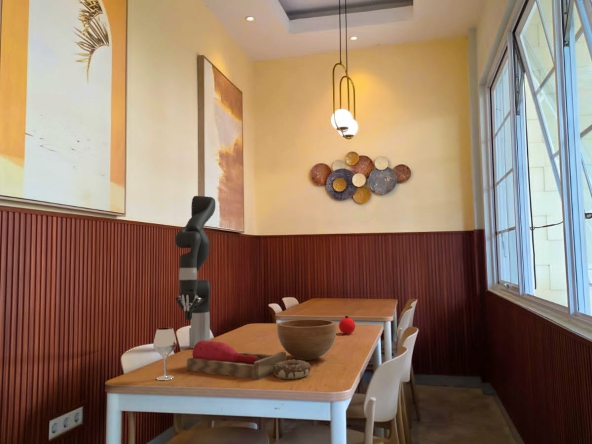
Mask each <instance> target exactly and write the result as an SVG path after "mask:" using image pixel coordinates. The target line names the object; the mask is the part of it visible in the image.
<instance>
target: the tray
mask: <svg viewBox="0 0 592 444" xmlns="http://www.w3.org/2000/svg"><path fill="white" fill-rule="evenodd" d="M237 352H238V353H239V354H242V355H246V356H247V355H252V356H256V357H257V358H258V361H255V362H254V365H252V364H246V363H244V362H239V363H233V362H224V361H215V360H206V359H197V358H193V357H188V358H186V371H187V370H191V371H190V372H195V371H199V372H198V373H202V372H207V373H206V374H210V373H214V374H213V375H218V374H222V375H221V376H226V375H229V376H228V377H234V376H235V377H236V378H243V379H250V380H258V381H259V380H261V379H264V378H266V377H269V376H271V375H274V374H273V366H274V365H275V364H276V363H278V362H280V361H285V360H287V351H280V352H277V353H276V354H265V353H255V352H245V351H243V352H242V351H237Z"/></svg>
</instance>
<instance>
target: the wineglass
mask: <svg viewBox="0 0 592 444" xmlns="http://www.w3.org/2000/svg"><path fill="white" fill-rule="evenodd" d="M175 333H176V332H175V330H174V327H170V326H169V327H159V328H157V329H156V331H155V335H154V339H153V348H154V350H155V351H156V353H158V354H159V355H160V356H162V358H163V375H160V376H157V377H156V379H157V380H156V379H155V380H156V381H159V380H165V381H171V380H173V379H174V378H175V376H173V375H167V359H168V356H170V355H171V354H172V353H173V352H174V350H175V349H176V347H177V344H178V343H177V342H178V341H177V339H176V338H177V337H176V334H175ZM172 378H173V379H172ZM170 379H171V380H170Z"/></svg>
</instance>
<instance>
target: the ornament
mask: <svg viewBox="0 0 592 444" xmlns="http://www.w3.org/2000/svg"><path fill="white" fill-rule="evenodd" d="M338 329H339V331H340V332H341V333H342V334H345V335H350V334H352V333H354V331H355V329H356V323H355V321H354V320H353V319H352V318H350V317H349V316H348V315H345V316H344V318H342V319H341V320H340V321H339V324H338Z"/></svg>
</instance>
